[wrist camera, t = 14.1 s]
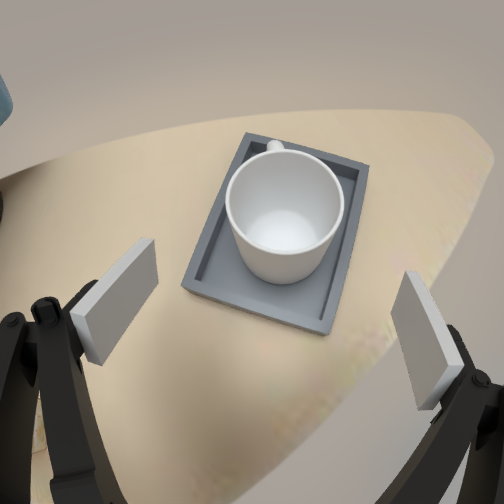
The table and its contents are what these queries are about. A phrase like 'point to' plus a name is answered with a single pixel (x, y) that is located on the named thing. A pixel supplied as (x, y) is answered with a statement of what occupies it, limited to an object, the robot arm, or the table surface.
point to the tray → (268, 294)
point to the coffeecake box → (39, 430)
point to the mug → (283, 212)
